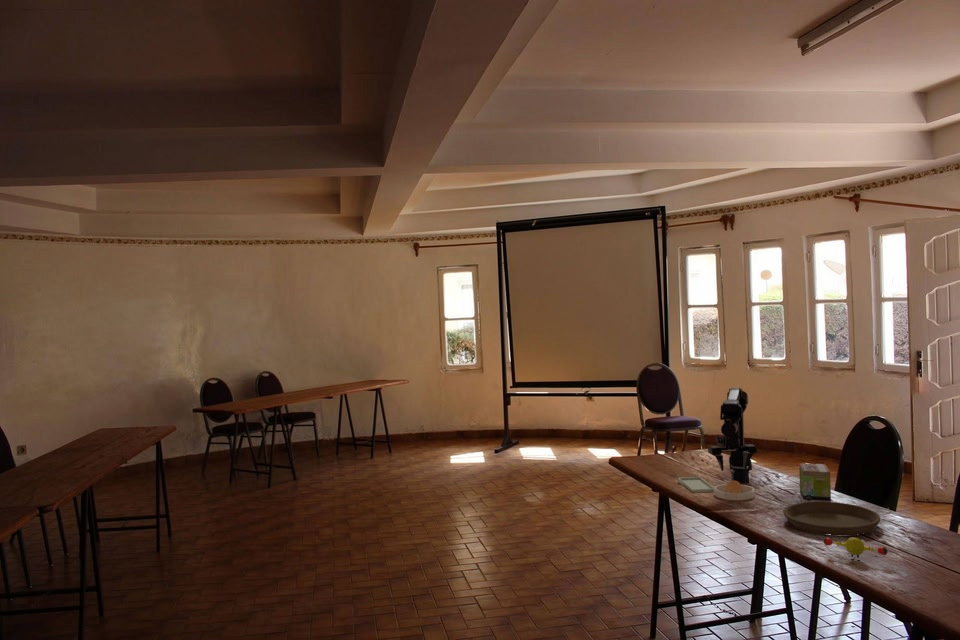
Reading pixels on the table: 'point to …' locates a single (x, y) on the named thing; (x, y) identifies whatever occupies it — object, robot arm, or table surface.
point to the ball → (734, 487)
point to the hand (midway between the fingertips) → (733, 470)
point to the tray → (696, 484)
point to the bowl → (745, 493)
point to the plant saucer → (831, 518)
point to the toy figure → (855, 546)
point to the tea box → (815, 483)
